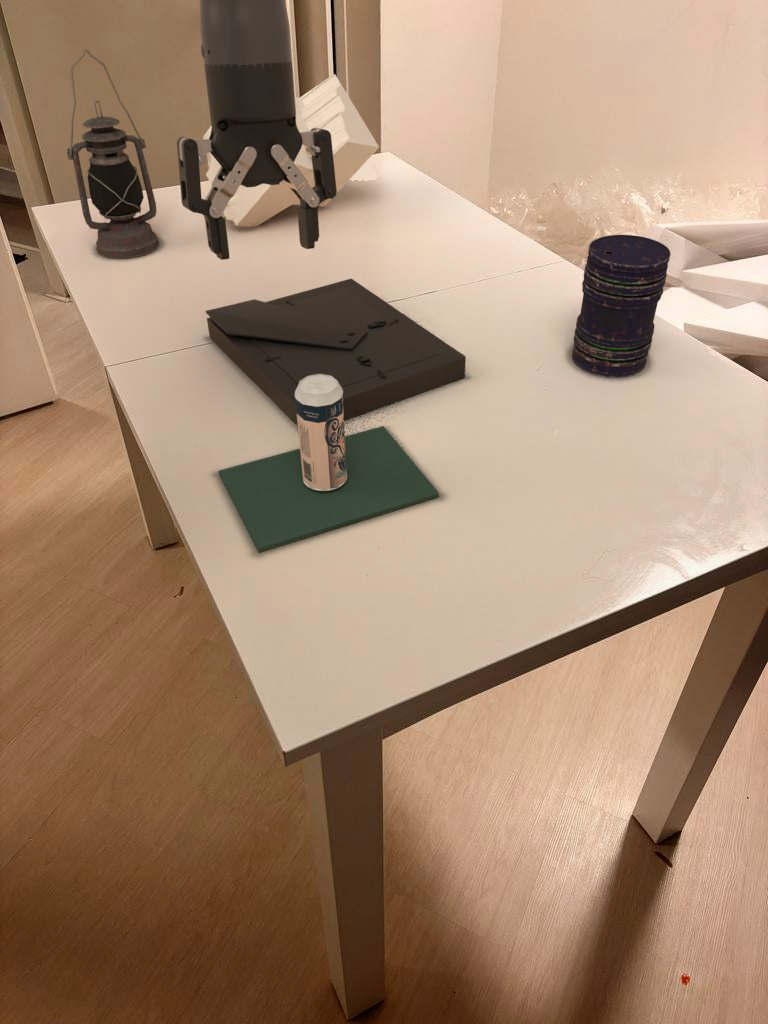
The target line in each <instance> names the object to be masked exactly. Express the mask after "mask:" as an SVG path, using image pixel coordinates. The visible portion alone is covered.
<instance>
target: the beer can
mask: <svg viewBox="0 0 768 1024" xmlns="http://www.w3.org/2000/svg"><path fill="white" fill-rule="evenodd" d="M295 401H296V411H297V422H298V426H297V431H298V442H299V449H300V453H301V464H302V474H303V482H304V483H305V484H306V485H307V486H308V487H309V488H311V489H314V490H317V491H330V490H333V489H337V488H339V487H340V486H342V485H343V484H344V483H345V482H346V480H347V470H346V450H345V436H346V435H345V434H346V432H345V420H344V411H343V389H342V387H341V386H340V384H339V383H338V381H337V380H336V379H335V378H333V377H332V376H330V375H324V374H316V375H310V376H307V377H305V378H304V379H302V380H300V382H299V385H298V387H297V389H296V391H295Z"/></svg>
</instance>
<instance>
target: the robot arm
mask: <svg viewBox="0 0 768 1024" xmlns="http://www.w3.org/2000/svg"><path fill="white" fill-rule="evenodd" d="M286 3H287V2H286V0H199V32H200V33H199V34H200V52H201V57H202V59H203V60H202V61H203V67H204V74H205V83H206V84H205V85H206V92H207V93H206V94H207V99H208V109H209V117H210V124H211V125H210V127H211V126H212V129H211V134H210V137H209V139H203V138H190V137H187V136H180V137H179V138H178V139H177V141H176V151H177V163H178V173H179V186H180V197H181V204H182V206H183V207H184V208H185V209H187V210H189V211H190V212H192V213H194V214H200V215H202V217H203V218H204V221H205V222H204V223H205V230H206V237H207V245H208V248H209V250H210V251H211V253H213V254H215V255H216V257H217V258H218V259H219V260H221V261H224V260H225V261H226V260H229V259H230V248H229V241H228V239H229V238H228V232H227V223H226V222H227V221H226V217H225V216H222V215H223V212H224V210H225V208H226V206H227V204H228V202H229V201H230V199H231V198H232V197H233V196H234V195H235V193H236V192H237V190H238V188H239V186H240V185H242V186H245V187H256V186H258V185H261V184H268V185H278V184H280V182H281V181H283V183H284V184H285V185H286V186H287V187H288V188H289V189H290V190H291V191H292V192H293V194H294V195H295V196H296V197H297V199H298V200H299V201H300V205H296V207H297V208H296V209H297V223H298V236H299V237H298V238H299V244H300V246H301V248H304V249H305V250H311V249H315V245H316V244H315V243H317V242H318V241H319V238H320V225H319V223H320V222H319V207H320V206H319V205H320V203H321V202H323V201H325V200H327V199H331V200H332V199H334V198H335V197H336V196H337V194H338V193H337V189H336V180H335V170H334V160H333V150H332V140H331V134H330V132H329V131H328V130H324V129H321V128H313V129H311V130H310V131H306V132H299V130H298V128H297V125H296V107H295V97H296V93H295V92H296V91H295V81H294V80H295V79H294V67H293V66H294V65H293V64H294V63H293V51H292V36H291V35H292V34H291V26H290V25H291V24H290V20H289V15H288V9H287V4H286ZM302 144H303V145H304V147H305V149H306V152H307V153H308V154H309V155H311V156H312V165H313V174H314V182H315V186H314V187H312V188H311V186H310V185H309V184H308V182H307V179H306V178H305V177H304V175H303V174H302V173H301V171H300V170H299V169H298V168H297V166H296V165H295V164H294V161H295V159H296V157H297V155H298V153H299V151H300V149H301V147H302ZM209 152H210V153H211V154H212V155H213V156H214V158H215V159H216V160H217V161H218V163H219V164H220V165H221V167H220V169H219V171H218V173H217V175H216V176H215V178H214V180H213V182H212V184H211V187H210V190H209V191H208V193H207V195H206V196H205V199H204V198H202V184H201V172H200V167H201V166H203V165H204V164H205V163H206V159H207V153H209ZM223 176H224V178H223ZM233 181H234V182H233ZM336 193H337V194H336Z"/></svg>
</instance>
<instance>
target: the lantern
mask: <svg viewBox="0 0 768 1024" xmlns="http://www.w3.org/2000/svg"><path fill="white" fill-rule="evenodd" d="M86 53H87V54H88V55H89V57H91V58H92V59H94V60H95V61H96V62H97V63H99V64H101V65H102V66H103V68H104V71H105V73H106V76H107V78H108V80H109V82H110V84H111V86H112V89H113V91H114V93H115V95H116V97H117V100H118V102H119V104H120V105H121V107H122V108H123V110H124V112H125V113H126V115H127V117H128V119H129V121H130V123H131V125H132V127H133V129H134V131H135V133H136V135H137V136H135V135H133V134H129V135H128V134H127V133H126V130H123V129H120V128H115V126H118V125H119V124H120V123H121V122H120V119H117V118H116V117H112V116H103V111H102V107H101V103H100V100H95V101H94V102H93V103H94V109H95V113H96V116H95V117H92V118H89V119H87V120H85V121H84V122H83V123H82V127H84V128H87V129H90V130H87V132H84V133H83V134H82V135H81V139H82V140H83V141H81V142H77V143H74V144H73V137H74V119H75V113H76V105H77V97H76V88H75V80H74V71H73V70H74V68H75V67H76V65H77V64H78V63H79V62H80V61H81V60H82V59H83V58H84V57H85V54H86ZM70 77H71V78H70V79H71V86H72V87H71V88H72V95H73V96H72V97H73V107H72V113H71V121H70V122H71V123H70V145H69V147H67V148H66V156H67V159H68V160H69V161H72V162H73V167H74V173H75V178H76V183H77V189H78V195H79V200H80V206H81V210H82V211H81V212H82V215H83V218H84V221H85V223H86V225H87V226H88V227H89V228H90V229H91V230H92V229H93V230H97V239H96V242H95V245H96V248H95V250H96V253H97V254H98V255H100V256H102V257H104V258H108V259H114V260H115V259H116V260H118V259H119V260H124V259H132V258H134V259H135V258H139V257H142V256H146V255H148V254H151V253H153V252H155V251H156V250H157V249H159V247H160V240H159V239H158V236H157V233H156V232H154V230H153V227H152V226H151V224H150V223H149V222H148V221H150V220H152V219H153V218H155V217H156V215H157V213H158V212H157V211H158V210H157V202H156V198H155V194H154V191H153V187H152V183H151V178H150V174H149V171H148V166H147V163H146V159H145V155H144V151H143V150H144V149H146V148H147V145H146V141H145V139H144V138H143V137H142V136H141V135H140V133H139V131H138V130H137V128H136V125H135V124H134V121H133V119H132V117H131V115H130V113H129V111H128V109H127V108H126V107H125V105H124V103H123V102H122V100H121V98H120V96H119V93H118V92H117V89H116V86H115V85H114V83H113V80H112V77H111V75H110V73H109V71H108V68H107V67H106V65H105V63H104V62H102V61H101V60H100V59H98V58H97V57H96V56H94V55H93V54H92V53H91V52H90V51H89V50H88V49H84V50H83V51H82V54H81V55H80V57H78V59H77V60H75V62H74V63H73V64H72V65H71V67H70ZM97 103H98V108H99V113H100V116H99V113H98V108H97ZM127 142H130V143H133V144H134V148H135V151H136V156H137V160H138V164H139V168H140V172H141V176H142V180H143V185H144V188H145V193H146V197H147V201H148V207H149V210H147V212H145V213H143V214H141V215H139V216H136V215H137V214H138V213H139V214H140V213H141V212H142V211H141V210H142V207H141V205H142V203H143V200H144V192H143V186H142V183H141V180H140V177H139V174H138V168H137V167H136V166H134V165H133V164H132V162H131V160H130V156H129V154H127V153H125V152H124V150H125V149H126V148H127V147H128V146H127ZM83 149H86V151H87V152H89V153H90V154H91V155H92V156H90V157H89V158H88V161H89V169H87V171H86V173H87V183H88V191H89V196H90V200H91V204H92V205H93V206H94V207H95V208H96V210H98V211H99V215H100V216H102V217H103V218H104V219H106V220H109V222H97V221H93V219H92V216H91V211H90V207H89V206H90V205H89V202H88V195H87V191H86V186H85V181H84V176H83V170H82V165H81V160H80V153H79V152H80V151H82V150H83Z"/></svg>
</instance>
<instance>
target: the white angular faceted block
mask: <svg viewBox="0 0 768 1024" xmlns="http://www.w3.org/2000/svg"><path fill="white" fill-rule="evenodd" d="M341 83H342V82H341V81H340V80H339V78H338V76H337V75H336V74H335V73H333V74H332V75H330V76H329V77H327V78H326V79H324V80H323V81H321V82H320V83H319V84H317V85H316V86H314V87H313V88H311V89H310V90H308V91H307V92H306V93H304V94H303V95H302V96H300V97H297V96H295V107H296V125H297V128H298V130H299V132H306V131H310V130H311V129H313V128H321V129H324V130H328V131H329V132H330V134H331V140H332V150H333V160H334V170H335V180H336V189H337V193H336V195H337V194H338V193H339V192H340V191H341V190H342V189H343V188H344V186H345V185H347V183H348V182H349V181H350V180H351V179H352V178H353V177H354V176H355V175H356V173H357V172H358V171H359V170H360V169H361V168H362V167H363V166H364V164H366V163H367V161H369V159H370V158H371V157H372V156H373V155H374V154H375V152H377V151H378V149H379V148H380V146H379V144H378V142H377V141H376V140H375V138H374V136H373V134H372V133H371V131H370V129H369V128H368V126H367V125H366V123H365V122H364V120H363V118H362V117H361V115H360V113H359V111H358V109H357V108H356V107H355V105H354V103H353V101H352V100H351V98H350V96H349V95H348V93H347V91H346V90H345V88H344V86H343V85H342V84H341ZM211 129H212V126H211V125H210V127H209V128H208V130H207V131H206V132H205V133H204V135H203V136H202V139H209V137H210V134H211ZM206 159H207V168H208V169H207V172H206V173H205V176H206V178H207V180H208V181H209V183H210V185H212V182H213V180H214V178H215V176H216V175H217V173H218V171H219V169H220V167H221V165H220V164H219V163H218V161H217V160H216V159H215V158H214V156H213V155H212V154H211V153H210V152H209V153H207V155H206ZM294 164H295V165H296V166H297V168H298V169H299V170H300V171H301V173H302V174H303V175H304V177H305V178H306V179H307V182H308V184H309V185H310V186H311V188H312V187H314V186H315V182H314V174H313V165H312V156H311V155H309V154H308V153H307V152H306V149H305V147H304V145H303V144H302V147H301V149H300V151H299V153H298V155H297V157H296V159H295V161H294ZM223 178H224V176H223ZM233 182H234V181H233ZM331 201H332V199H327V200H325V201H323V202H321V203H320V205H319V206H318V207H326V206H327V205H328V204H329V203H330V202H331ZM292 205H296V206H300V201H299V200H298V199H297V197H296V196H295V195H294V194H293V192H292V191H291V190H290V189H289V188H288V187H287V186H286V185H285V184H284V183H283V181H281V182H280V184H278V185H268V184H261V185H258V186H256V187H245V186H242V185H240V186H239V188H238V190H237V192H236V193H235V195H234V196H233V197H232V198H231V199H230V201H229V202H228V204H227V206H226V208H225V210H224V212H223V213H222V215H224V218H225V220H227V221H230V222H231V223H234V225H235V226H236V227H258V226H260V225H261V224H263V223H264V222H266V221H268V220H269V219H271V218H273V217H274V216H276V215H278V214H279V213H281V212H282V211H284V210H285V209H288V208H289V207H290V206H292Z"/></svg>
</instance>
